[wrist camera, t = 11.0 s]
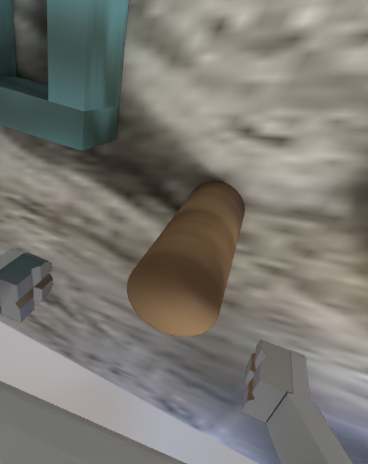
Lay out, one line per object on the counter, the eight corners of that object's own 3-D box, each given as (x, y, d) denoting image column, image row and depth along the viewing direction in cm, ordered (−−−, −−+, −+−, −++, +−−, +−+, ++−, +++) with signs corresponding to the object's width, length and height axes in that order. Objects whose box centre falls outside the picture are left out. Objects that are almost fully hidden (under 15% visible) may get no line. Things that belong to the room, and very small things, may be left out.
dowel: (235, 241, 21) (206, 348, 13) (183, 225, 22) (122, 317, 13) (252, 191, 19) (231, 278, 11) (194, 174, 20) (132, 244, 12)
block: (115, 139, 20) (82, 151, 17) (-7, 102, 22) (-60, 106, 19) (133, -52, 16) (92, -89, 12) (-26, -84, 17) (-103, -125, 14)
